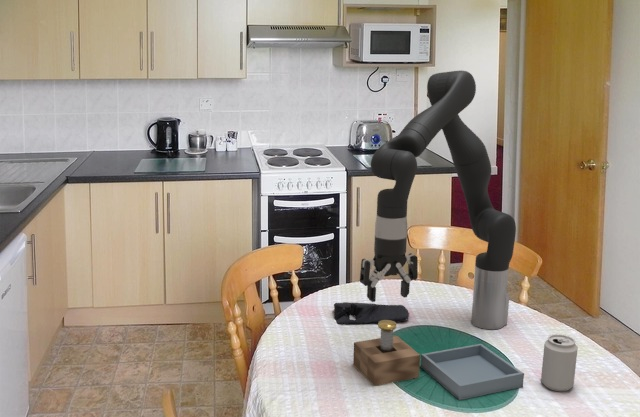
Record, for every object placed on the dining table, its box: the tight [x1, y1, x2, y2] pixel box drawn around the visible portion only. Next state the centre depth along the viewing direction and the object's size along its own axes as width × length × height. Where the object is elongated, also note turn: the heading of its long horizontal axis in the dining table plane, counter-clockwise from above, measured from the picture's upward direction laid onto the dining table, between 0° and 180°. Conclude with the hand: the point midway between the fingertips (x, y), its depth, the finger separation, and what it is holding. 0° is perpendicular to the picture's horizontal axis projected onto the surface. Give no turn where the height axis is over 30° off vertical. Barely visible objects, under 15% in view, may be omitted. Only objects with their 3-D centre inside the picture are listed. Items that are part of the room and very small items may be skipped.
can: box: [540, 333, 579, 392], centre depth 172 cm, size 8×8×12 cm
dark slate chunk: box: [333, 301, 410, 325], centre depth 213 cm, size 15×22×5 cm
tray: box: [420, 343, 525, 401], centre depth 177 cm, size 18×18×4 cm
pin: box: [377, 320, 397, 353], centre depth 178 cm, size 4×4×13 cm
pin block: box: [352, 335, 421, 387], centre depth 179 cm, size 12×12×6 cm
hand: (388, 298), depth 175 cm, fingers open, 8 cm apart
